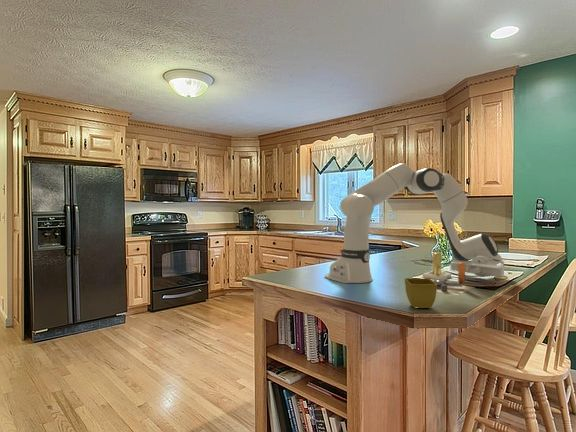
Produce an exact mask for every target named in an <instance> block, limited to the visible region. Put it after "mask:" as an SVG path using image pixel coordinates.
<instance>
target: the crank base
mask: <svg viewBox="0 0 576 432" xmlns="http://www.w3.org/2000/svg"><path fill="white" fill-rule="evenodd" d="M431 280H432V281H433V282H434V280H435V279H431ZM475 288H476V287H475V286H470V285H466V284H462V287H456V286H447V285H442V286H437V291H436V293H437V292H438V293H441V294H442V293H443V294H448V295H451V296H452V295H453V296H460V295H462V294H464V293H465V292H466V293H467V292H469V291H470V290H473V289H475Z"/></svg>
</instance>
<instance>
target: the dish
mask: <svg viewBox="0 0 576 432" xmlns="http://www.w3.org/2000/svg"><path fill="white" fill-rule="evenodd" d="M451 277H452V273H449V272H443V271H441V276H437V275H433V270H430V271H427V272H424V273H423V274H422V278H423V279H431V280H436V279H439V280H445V281H446V280H448V279H449V278H451Z"/></svg>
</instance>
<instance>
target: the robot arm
mask: <svg viewBox="0 0 576 432" xmlns="http://www.w3.org/2000/svg"><path fill="white" fill-rule="evenodd" d="M403 189H405V190H406V191H407V192H408V193H410V194H411V195H417V196H418V195H425V194H428V193H432V194H434V195H435V197H436V198H437V200H438V202H439V204H440V207H441V212H440V215H439V217H440V222H441V225H442V227H443V230H444V233H445V235H446V238H447V241H448V243H449V247H450V251H451V254H452V257H453V258H454V259H455V261H451V262H450V264H449V265H450V266H449V267H450V270H451V271H452V272H453V271H454V272H458V263H459V262H462V263H465V274H466V273H468V274H474V275H475V276H477V277H480V278H482V277H484V278H485V277H500V278H501V277H504V276H505V261H504V260H503V259H502V258H503V257H502V256H501V255H500V254H499V247H498V245H497V242H496V241H495V239H494V238H493V237H492V236H491V235H489V234H487V233H485V232H482V233H479V234H476V235H473V236H470V237H467V238H465V239H460V238H459V234H458V232H457V229H456V227H455V220H456V219H457V218H458V217H460V215H461V214H462V213H463V212H464V211H465V210H466V208H467V207H468V200H469V199H468V197H467V195H466V193H465V191H464V190H463V189H462V187H461V185H460V183H458V181H457V180H456V179H455V178H454V176H453V175H452V174H450V173H445V172H444V173H440V171H438V170H437V169H435V168H433V167H425V168H422V169H419V170H413V169H412V168H411V167H410V165H408V164H406V163H403V162H402V163H401V162H400V163H397V164H395V165H394V166H392V167H389V168H388V169H387V170H385V171H384V172H381V174H378V176H376V177H375V178H373V179H371V180H370V181H369V182H368V183H366V184H364V185H362V186H361V187H359V188H357V189H355V190H354V191H353V192H351V193H349V194H348V195H347V196H345V197H344V198H342V200H341V201H340V205H339V207H340V210H341V213H342V214H343V215H344V216H345V217H346V221H345V228H344V229H343V248H342V249H340V250H338V251H339V254H340V256H339V257H338V258H337V259H336V260H335V261H333V262H332V263H331V264H330V266H329V272H328V273H325V275H324V278H325V279H329V280H333V281H335V282H339V283H341V284H350V283H351V284H361V283H362V284H363V283H370V282H372V281H373V276H372V273H371V268H370V259H371V258H370V256H371V253H370V251H371V250H370V248H369V246H370V244H369V240H370V239H369V237H370V236H369V233H370V225H371V220H372V214H373V212H374V210H375V207H376V206H378V205H380V204H383V203H385V201H387V200H389V199H390V198H391V197H393V196H395V195H396V194H397V193H399V192H400V191H401V190H403Z"/></svg>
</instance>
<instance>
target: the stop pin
mask: <svg viewBox="0 0 576 432" xmlns="http://www.w3.org/2000/svg"><path fill="white" fill-rule="evenodd" d="M432 271H433V275H437V276H441V272H442V252H432Z"/></svg>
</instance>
